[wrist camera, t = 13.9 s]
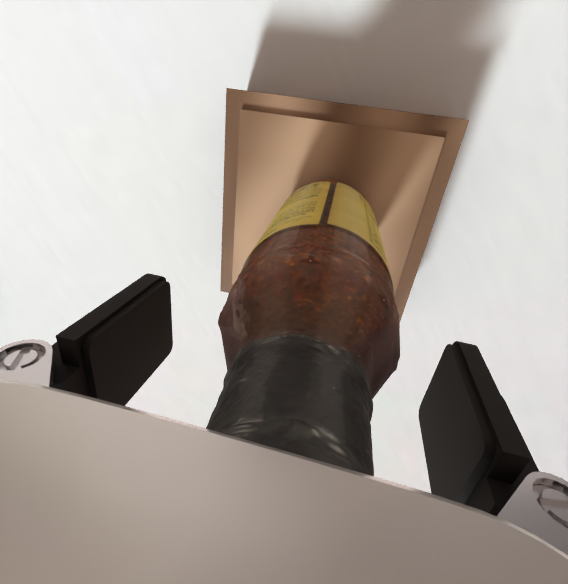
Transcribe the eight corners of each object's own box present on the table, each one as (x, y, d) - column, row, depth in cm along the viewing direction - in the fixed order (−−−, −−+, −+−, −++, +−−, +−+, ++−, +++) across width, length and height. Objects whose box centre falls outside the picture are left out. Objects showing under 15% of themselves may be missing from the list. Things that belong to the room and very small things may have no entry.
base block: (452, 119, 22) (470, 120, 18) (393, 301, 29) (398, 329, 25) (246, 91, 24) (224, 87, 20) (236, 270, 31) (219, 292, 27)
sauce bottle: (276, 257, 24) (74, 603, 7) (289, 167, 21) (-13, 391, 4) (367, 276, 24) (383, 711, 6) (393, 185, 21) (554, 550, 3)
